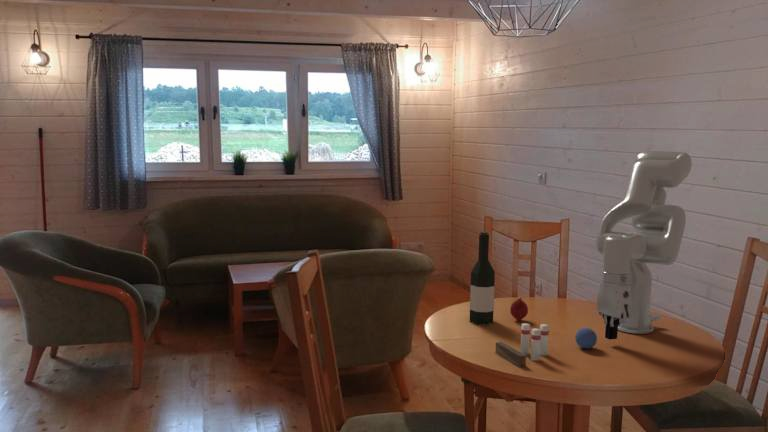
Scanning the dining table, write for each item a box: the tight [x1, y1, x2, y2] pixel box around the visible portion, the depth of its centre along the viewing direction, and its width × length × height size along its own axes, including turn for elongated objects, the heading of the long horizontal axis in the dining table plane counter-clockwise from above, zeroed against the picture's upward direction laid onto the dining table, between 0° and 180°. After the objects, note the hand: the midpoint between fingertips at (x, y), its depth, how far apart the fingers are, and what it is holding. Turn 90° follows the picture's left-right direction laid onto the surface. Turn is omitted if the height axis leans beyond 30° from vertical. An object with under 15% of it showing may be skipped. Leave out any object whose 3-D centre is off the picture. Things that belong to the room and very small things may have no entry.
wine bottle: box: [469, 230, 496, 326], centre depth 214 cm, size 8×8×30 cm
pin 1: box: [519, 322, 531, 356], centre depth 185 cm, size 2×2×8 cm
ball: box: [575, 327, 598, 350], centre depth 190 cm, size 6×6×6 cm
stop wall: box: [495, 341, 527, 368], centre depth 180 cm, size 2×12×3 cm, turn 22°
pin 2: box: [530, 328, 541, 362], centre depth 180 cm, size 2×2×8 cm
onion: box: [509, 296, 529, 321], centre depth 216 cm, size 6×6×8 cm
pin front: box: [539, 323, 550, 357], centre depth 184 cm, size 2×2×8 cm
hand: (611, 338), depth 193 cm, fingers closed
